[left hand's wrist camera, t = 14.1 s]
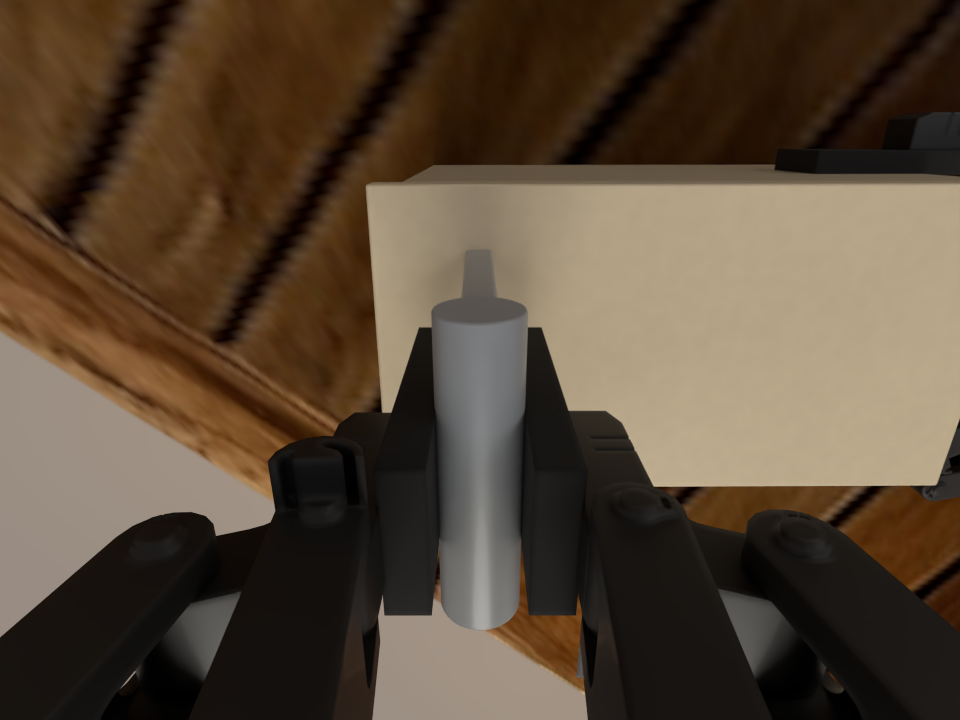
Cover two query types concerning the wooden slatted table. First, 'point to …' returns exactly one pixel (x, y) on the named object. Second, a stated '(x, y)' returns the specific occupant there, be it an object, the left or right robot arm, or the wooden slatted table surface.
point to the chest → (643, 174)
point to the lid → (670, 337)
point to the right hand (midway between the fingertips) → (768, 300)
